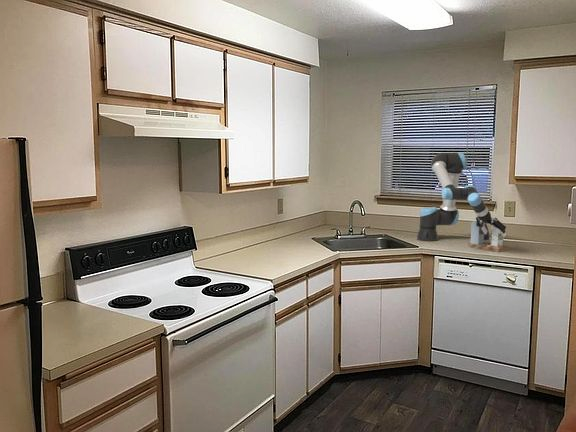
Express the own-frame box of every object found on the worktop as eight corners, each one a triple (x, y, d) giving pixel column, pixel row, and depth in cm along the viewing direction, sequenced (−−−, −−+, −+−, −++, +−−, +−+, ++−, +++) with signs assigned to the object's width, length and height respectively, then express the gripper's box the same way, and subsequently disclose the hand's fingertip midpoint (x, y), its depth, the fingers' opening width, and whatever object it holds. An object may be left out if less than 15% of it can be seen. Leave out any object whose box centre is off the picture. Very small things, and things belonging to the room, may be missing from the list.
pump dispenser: (486, 242, 362) (488, 221, 360) (491, 245, 352) (492, 223, 350) (472, 242, 363) (473, 221, 361) (475, 244, 353) (477, 223, 351)
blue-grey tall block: (470, 243, 348) (471, 221, 346) (476, 242, 351) (477, 220, 349) (479, 244, 342) (480, 222, 340) (484, 243, 345) (485, 222, 343)
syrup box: (495, 245, 338) (496, 224, 336) (503, 247, 333) (504, 225, 331) (489, 246, 335) (491, 224, 334) (497, 248, 330) (498, 226, 329)
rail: (468, 246, 347) (468, 241, 347) (476, 244, 352) (476, 240, 352) (498, 252, 328) (498, 247, 328) (507, 250, 333) (507, 245, 333)
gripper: (463, 215, 330) (476, 236, 341) (497, 219, 310) (510, 241, 320) (468, 206, 333) (481, 227, 343) (503, 210, 312) (516, 232, 323)
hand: (495, 234), depth 332 cm, fingers open, 13 cm apart
